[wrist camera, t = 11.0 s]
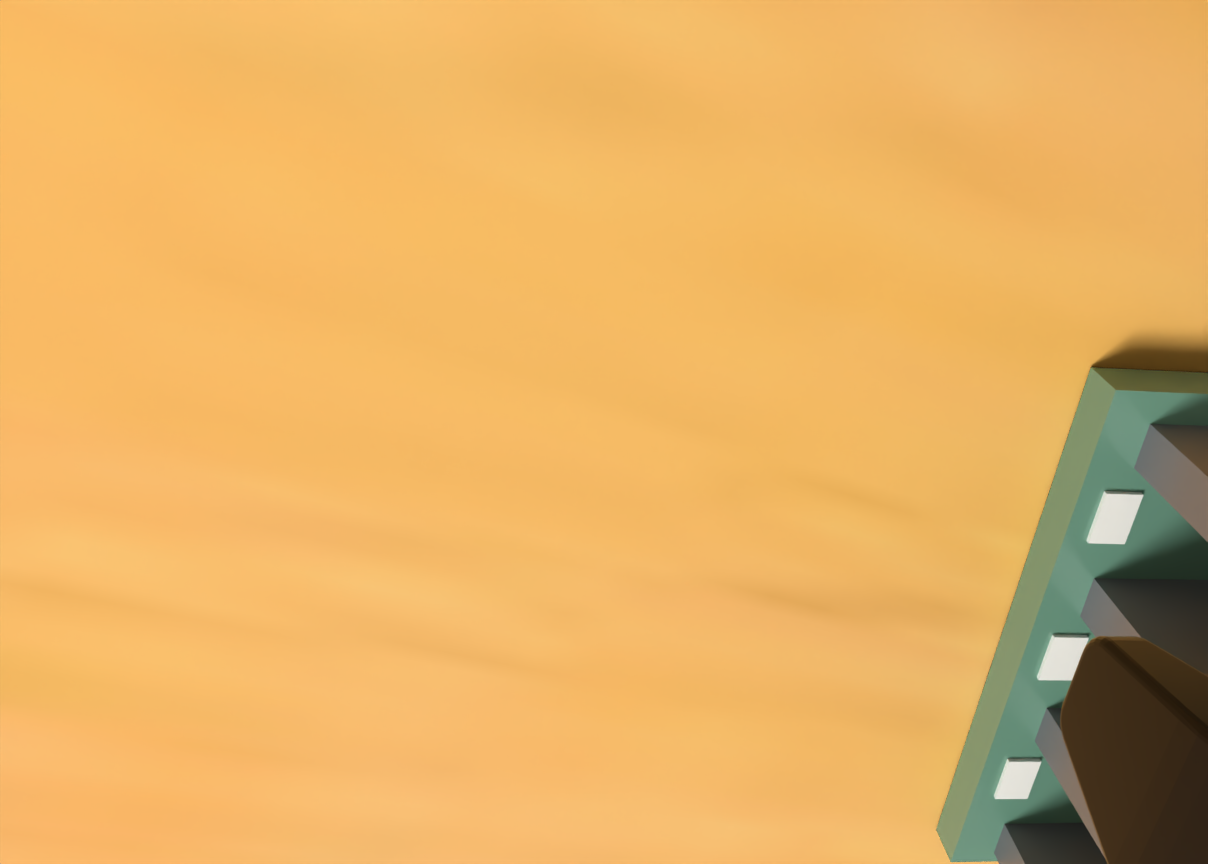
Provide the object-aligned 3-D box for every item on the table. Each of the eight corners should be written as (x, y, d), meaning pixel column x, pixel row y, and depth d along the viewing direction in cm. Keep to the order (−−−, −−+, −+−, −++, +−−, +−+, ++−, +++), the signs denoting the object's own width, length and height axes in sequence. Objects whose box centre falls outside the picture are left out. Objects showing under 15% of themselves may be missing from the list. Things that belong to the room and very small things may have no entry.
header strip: (1091, 367, 22) (1221, 487, 18) (1406, 382, 23) (1596, 498, 19) (936, 829, 28) (1009, 992, 25) (1190, 826, 29) (1300, 983, 25)
